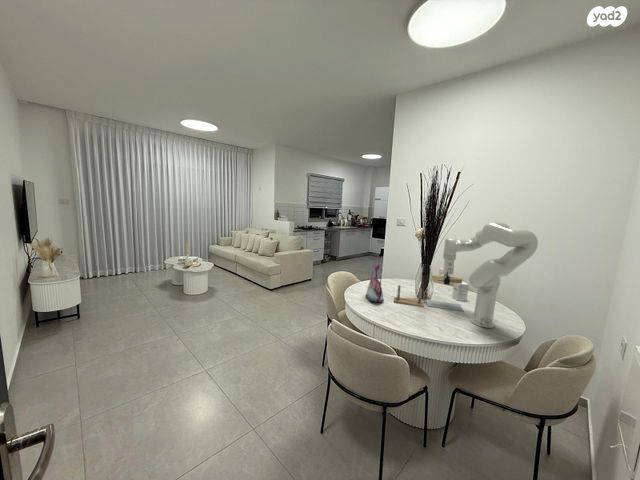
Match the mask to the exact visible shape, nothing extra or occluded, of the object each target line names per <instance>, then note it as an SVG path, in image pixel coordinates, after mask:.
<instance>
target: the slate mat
mask: <svg viewBox="0 0 640 480" xmlns="http://www.w3.org/2000/svg"><path fill="white" fill-rule="evenodd" d="M425 302H426V306H427V307H429V308H435V309H442V310H448V311H449V310H450V311H457V312H465V311H464V309H463V306H462V305H461V304H460V303H455V302H454V303H453V302H445V301H439V300H432V299H425Z"/></svg>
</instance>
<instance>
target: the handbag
mask: <svg viewBox="0 0 640 480" xmlns="http://www.w3.org/2000/svg"><path fill="white" fill-rule="evenodd" d="M372 267H373V268H374V270H373V269H372V272H371V274H373V272H374V271H375V277H373V275H371V277H370V278H371V279H370V280H369V284H368V286H367V289H366V292H365V293H366V294H365V298H366V299H367V300H368V301H369V303H377V302H378V303H384V302H385V300H384V293H383V292H384V291H383V289H382V277H379V278H380V279H378V270H379V268H380V269H382V266H381V265H380V264H377V265H376V264H374V265H372ZM379 280H380V281H379Z"/></svg>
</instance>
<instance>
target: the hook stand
mask: <svg viewBox="0 0 640 480" xmlns="http://www.w3.org/2000/svg"><path fill="white" fill-rule="evenodd" d="M422 294H423V290H422V287H419V288H418V296H417V297H418V299H415V298H406V297H402V296H401V284H399V285H397V294H396V295H397V296H394V302H393V303H394V304H400V305H406V306H407V305H408V306H415V307H423V308H424V307H425V305H424V300H422Z"/></svg>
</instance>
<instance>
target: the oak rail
mask: <svg viewBox="0 0 640 480" xmlns="http://www.w3.org/2000/svg"><path fill="white" fill-rule="evenodd" d="M431 280H432V281H435V282H443V283H444V280H445V276H444V275H437V274H432V275H431ZM462 281H463V278H461V277H456V276H455V277H454V276H450V283H452V284H454V283H459V284H462Z"/></svg>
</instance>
